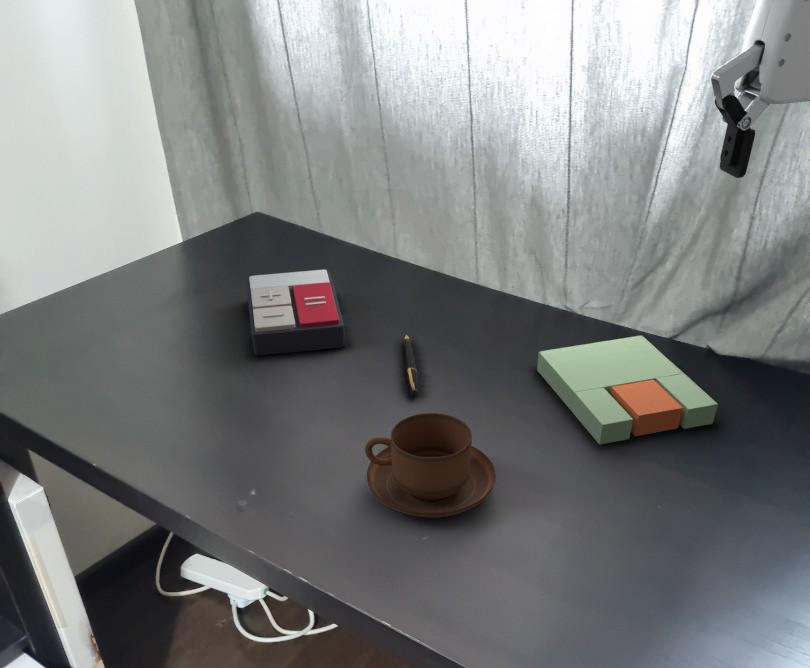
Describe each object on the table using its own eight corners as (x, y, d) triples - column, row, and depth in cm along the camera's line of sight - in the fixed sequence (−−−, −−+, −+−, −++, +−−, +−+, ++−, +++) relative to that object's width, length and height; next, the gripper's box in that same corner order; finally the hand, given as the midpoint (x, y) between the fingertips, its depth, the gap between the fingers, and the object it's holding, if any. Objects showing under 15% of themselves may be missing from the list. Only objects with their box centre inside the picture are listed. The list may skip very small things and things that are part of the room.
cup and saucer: (376, 536, 73) (373, 480, 69) (361, 459, 82) (357, 406, 78) (508, 522, 74) (512, 466, 70) (479, 447, 83) (481, 394, 79)
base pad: (638, 353, 98) (641, 334, 96) (712, 423, 86) (718, 404, 85) (536, 370, 95) (538, 351, 94) (599, 444, 84) (602, 424, 82)
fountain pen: (401, 339, 102) (401, 328, 101) (411, 339, 102) (410, 328, 101) (410, 400, 91) (409, 388, 90) (420, 400, 91) (420, 388, 90)
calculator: (250, 328, 96) (244, 271, 107) (255, 361, 99) (249, 302, 110) (344, 319, 97) (329, 264, 108) (346, 351, 100) (331, 294, 111)
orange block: (649, 399, 90) (653, 379, 88) (678, 428, 86) (683, 407, 84) (607, 407, 89) (611, 386, 87) (634, 436, 85) (638, 415, 83)
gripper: (896, -69, 70) (831, 147, 81) (715, -60, 66) (672, 165, 77) (965, -61, 64) (885, 170, 75) (771, -51, 61) (717, 190, 72)
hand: (777, 167), depth 76 cm, fingers open, 9 cm apart
